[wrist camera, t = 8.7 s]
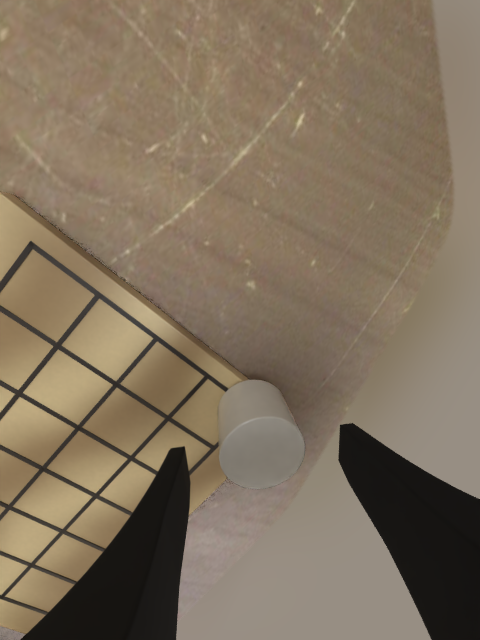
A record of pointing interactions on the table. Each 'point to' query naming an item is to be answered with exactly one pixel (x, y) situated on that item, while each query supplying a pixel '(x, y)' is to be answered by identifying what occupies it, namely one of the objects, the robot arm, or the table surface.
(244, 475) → the grey short cylinder
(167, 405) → the board
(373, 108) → the table surface
